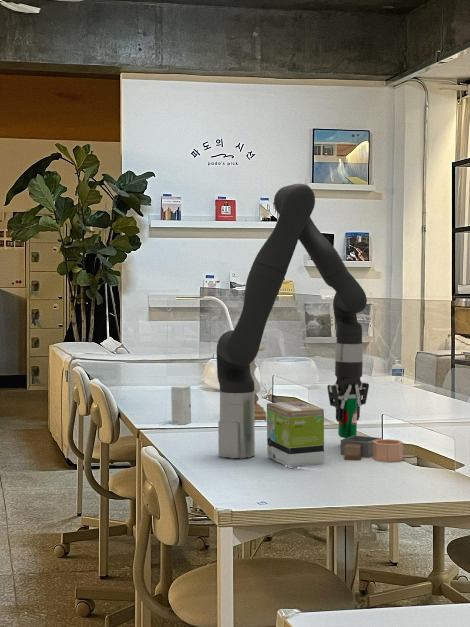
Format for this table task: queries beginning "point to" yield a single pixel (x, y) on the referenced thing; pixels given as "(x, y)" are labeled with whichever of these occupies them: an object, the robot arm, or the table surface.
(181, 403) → the skincare box
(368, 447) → the bin
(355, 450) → the walnut block
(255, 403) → the candle holder
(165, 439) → the table surface
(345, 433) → the soda can
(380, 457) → the bowl
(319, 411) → the tea box
